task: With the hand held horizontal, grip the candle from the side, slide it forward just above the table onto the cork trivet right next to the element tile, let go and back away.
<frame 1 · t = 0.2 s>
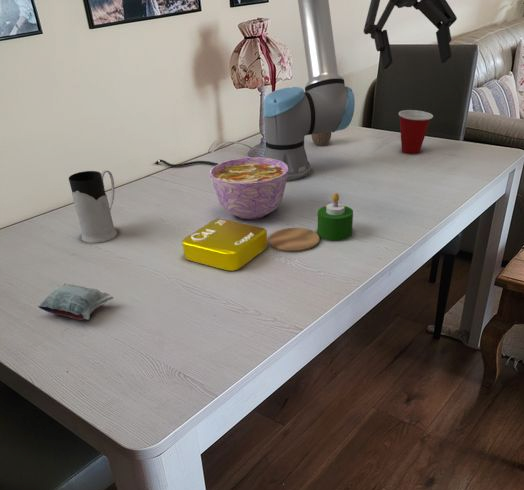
hand: (417, 62, 112), 35 cm above the table, tool tilted 35°, fingers open, 13 cm apart
bowl of food: (251, 213, 142), on the table
candle: (334, 234, 130), on the table
glass holder: (105, 231, 138), on the table
vase: (321, 144, 189), on the table
cork trivet: (293, 240, 128), on the table
plastic cup: (411, 152, 178), on the table
packaged food: (79, 311, 107), on the table
element tile: (226, 252, 125), on the table
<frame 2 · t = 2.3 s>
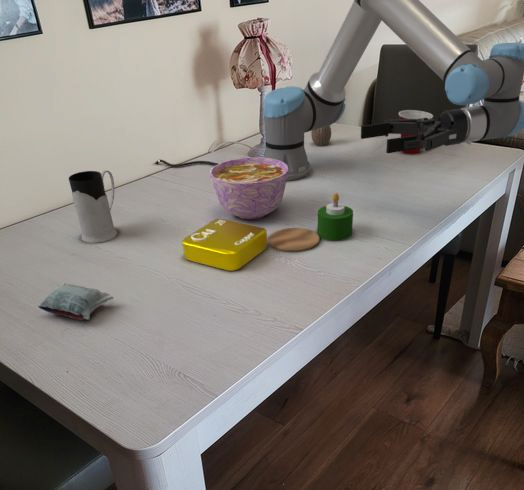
hand: (373, 139, 120), 21 cm above the table, tool horizontal, fingers open, 13 cm apart
nothing on the table moved.
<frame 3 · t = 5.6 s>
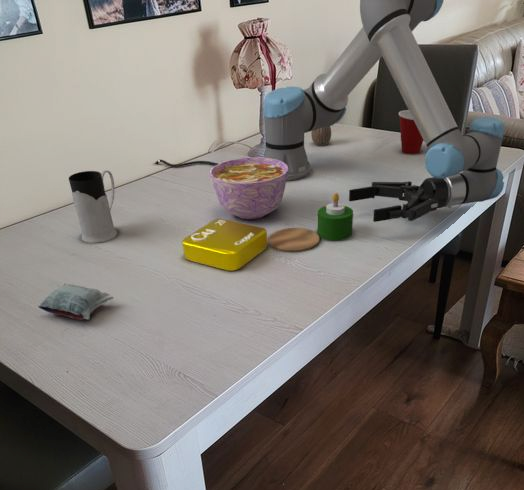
hand: (361, 205, 128), 6 cm above the table, tool horizontal, fingers open, 13 cm apart
nothing on the table moved.
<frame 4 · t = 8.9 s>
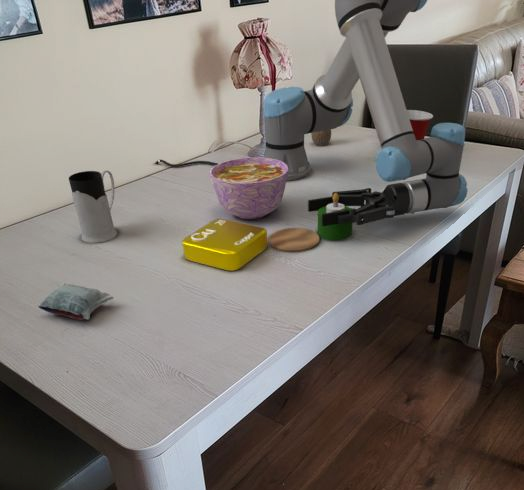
hand: (315, 212, 125), 6 cm above the table, tool horizontal, fingers closed on candle, 8 cm apart
candle: (334, 234, 130), on the table, touching gripper
everything else where it was.
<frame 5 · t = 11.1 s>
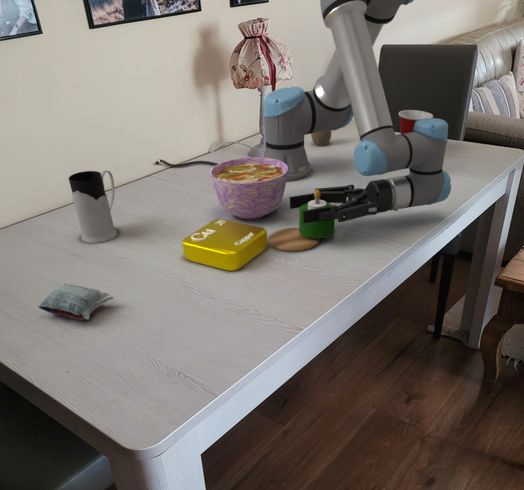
hand: (296, 209, 123), 8 cm above the table, tool horizontal, fingers closed on candle, 8 cm apart
candle: (316, 231, 128), point 1 cm above the table, touching gripper
everything else where it was.
when the fingers open (6 cm above the table, at t = 13.3 s): candle stays where it is, resting on cork trivet.
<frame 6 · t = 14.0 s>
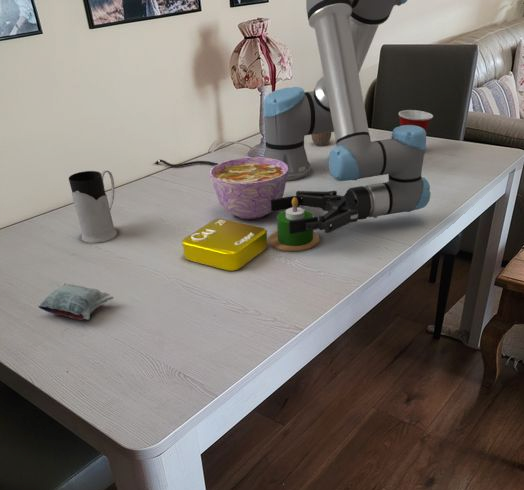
hand: (279, 216, 123), 7 cm above the table, tool horizontal, fingers open, 13 cm apart
candle: (295, 239, 128), resting on cork trivet
everything else where it was.
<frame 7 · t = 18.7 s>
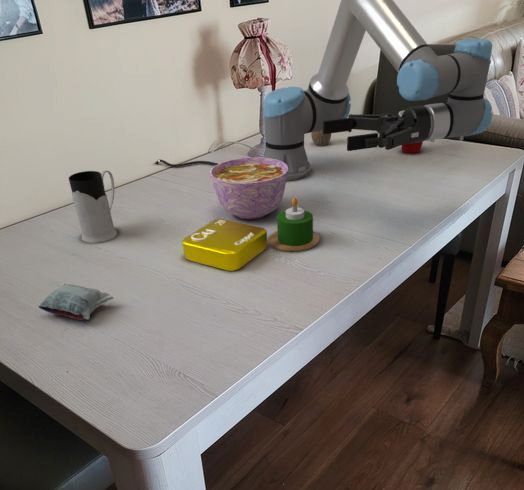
hand: (334, 135, 116), 23 cm above the table, tool horizontal, fingers open, 13 cm apart
nothing on the table moved.
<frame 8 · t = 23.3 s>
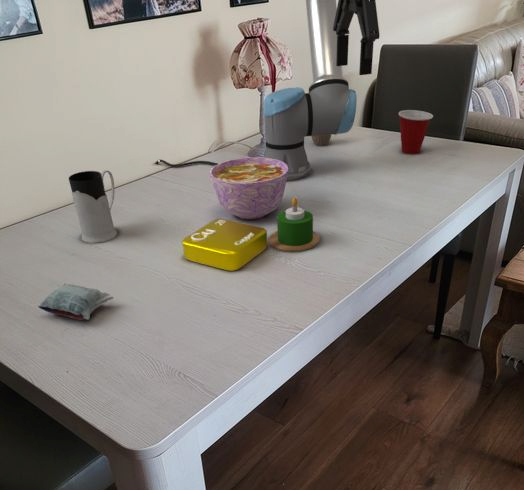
hand: (353, 70, 128), 32 cm above the table, tool pointing down, fingers open, 13 cm apart
nothing on the table moved.
at the end: candle 0.4 cm off-centre on the cork trivet, point 0.3 cm above the cork trivet's base; candle 16.8 cm from the element tile (horizontally); candle tilted 0° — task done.
